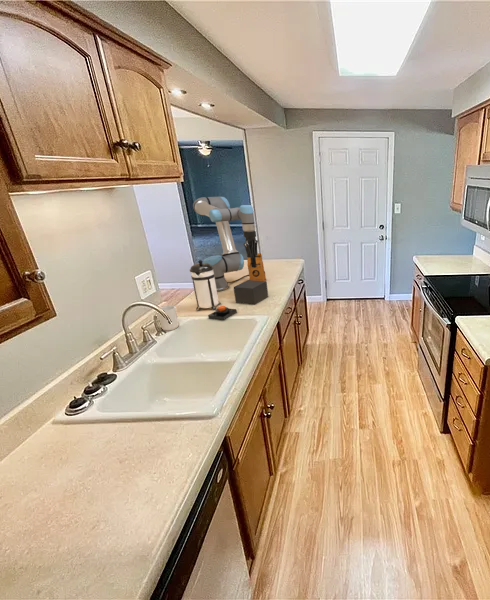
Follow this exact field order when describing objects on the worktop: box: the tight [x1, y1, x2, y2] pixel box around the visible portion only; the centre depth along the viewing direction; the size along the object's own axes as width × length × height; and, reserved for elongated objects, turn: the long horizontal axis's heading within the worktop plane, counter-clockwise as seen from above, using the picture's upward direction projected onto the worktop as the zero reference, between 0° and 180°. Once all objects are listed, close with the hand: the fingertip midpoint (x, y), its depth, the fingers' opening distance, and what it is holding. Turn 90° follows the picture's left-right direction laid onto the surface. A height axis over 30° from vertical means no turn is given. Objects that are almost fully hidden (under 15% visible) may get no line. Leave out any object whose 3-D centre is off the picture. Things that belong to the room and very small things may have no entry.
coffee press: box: [189, 259, 221, 312], centre depth 199 cm, size 17×16×30 cm
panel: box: [207, 306, 238, 321], centre depth 190 cm, size 12×10×4 cm
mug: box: [155, 305, 180, 332], centre depth 175 cm, size 12×9×11 cm
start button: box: [217, 305, 227, 311], centre depth 190 cm, size 4×4×2 cm
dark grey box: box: [233, 279, 269, 306], centre depth 214 cm, size 16×14×11 cm
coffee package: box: [246, 252, 267, 281], centre depth 252 cm, size 10×12×22 cm
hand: (254, 267), depth 215 cm, fingers closed
